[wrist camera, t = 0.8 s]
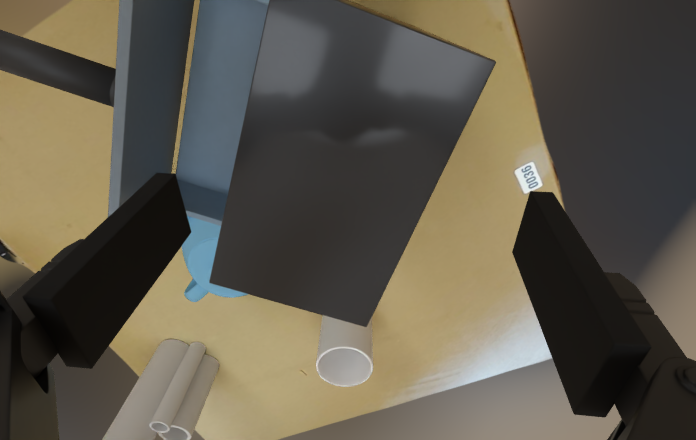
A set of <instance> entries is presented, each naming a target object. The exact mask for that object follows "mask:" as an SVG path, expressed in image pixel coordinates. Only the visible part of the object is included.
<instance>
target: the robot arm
mask: <svg viewBox="0 0 696 440" xmlns="http://www.w3.org/2000/svg"><path fill="white" fill-rule="evenodd" d="M190 234H191V229H190V225H189V221H188V218H187V214H186V210H185V207H184V203H183V199H182V196H181V192H180V188H179V185H178V181H177V177H176V174H169V173H156V174H155V175H154V176H153V177H151V178H150V179H149V180H148V181H147V182H146V183H145V184H144V185H143V186H142V187H141V188H140V189H138V190H137V191H136V192H135V193H134V194H133V195H132V196H131V197H130V198H129V199H128V200H127V201H125V202H124V203H123V204H122V205H121V206H120V207H119V208H118V209H117V210H116V211H115V212H114V213H112V214H111V215H110V216H109V217H108V218H107V219H106V220H105V221H104V222H103V223H102V224H100V225H99V226H98V227H97V228H96V229H95V230H94V231H93V232H92V233H91V234H90V235H89V236H87V237H86V238H85V239H80V240H78V241H76V242H75V243H73V244H71V245H69V246H67V247H66V248H64V249H63V250H61V251H60V252H59V253H58V254H57V255H56V256H55V257H54V258H53V259H51V262H48V263H47V264H46V265H45V266H44V267H42V268H41V271H38V272H37V273H36V274H35V275H34V276H32V277H31V278H30V279H29V280H28V281H27V282H26V283H25V284H23V285H22V286H21V287H20V288H19V289H18V290H17V291H16V292H14V293H13V294H12V295H11V296H10V297H9V298H8V299H7V300H6V298H5V297H4V295H3V294H2V293H1V291H0V440H59V430H58V418H57V406H56V393H55V381H54V371H53V369H52V367H51V365H50V364H49V363H50V362H51V360H52V359H53V358H54V357H55V356H56V355H57V353H58V354H59V355H60V357H61V358H62V360H63V361H64V363H65V365H66V366H70V367H80V368H90V369H91V368H93V366H94V365H95V363H96V362H97V361H98V359H99V358H100V357H101V355H102V354H103V353H104V351H105V350H106V348H107V347H108V346H109V344H110V343H111V342H112V340H113V339H114V338H115V336H116V335H117V333H118V332H119V331H120V329H121V328H122V327H123V325H124V324H125V322H126V321H127V320H128V318H129V317H130V316H131V314H132V313H133V312H134V310H135V309H136V307H137V306H138V305H139V303H140V302H141V301H142V299H143V298H144V297H145V295H146V294H147V292H148V291H149V290H150V288H151V287H152V286H153V284H154V283H155V281H156V280H157V279H158V277H159V276H160V275H161V273H162V272H163V271H164V269H165V268H166V266H167V265H168V264H169V262H170V261H171V260H172V258H173V257H174V256H175V254H176V253H177V251H178V250H179V249H180V247H181V246H182V245H183V243H184V242H185V240H186V239H187V238H188V236H189V235H190ZM512 253H513V255H514V258H515V261H516V263H517V266H518V268H519V271H520V274H521V276H522V279H523V282H524V284H525V287H526V289H527V292H528V295H529V297H530V300H531V303H532V305H533V308H534V311H535V313H536V316H537V318H538V321H539V324H540V326H541V329H542V332H543V334H544V337H545V339H546V342H547V345H548V347H549V350H550V353H551V355H552V358H553V360H554V363H555V366H556V368H557V371H558V374H559V376H560V379H561V382H562V384H563V387H564V389H565V392H566V394H567V397H568V400H569V403H570V405H571V408H572V411H573V413H574V414H575V415H586V416H596V417H606V416H607V414H608V413H609V411H610V410H611V408H612V407H613V405H614V404H615V405H616V408H617V410H618V412H619V414H620V416H621V418H622V420H621V421H620V423H619V424H618V426H617V427H616V428H615V430H614V431H613V432H612V434H611V435H610V437H609V438H608V439H607V440H696V361H694V360H692V359H689V358H687V357H686V356H685V355H684V353H683V351H682V350H681V349H680V347H679V346H678V344H677V343H676V342H675V340H674V339H673V337H672V336H671V335H670V333H669V332H668V330H667V329H666V327H665V326H664V325H663V323H662V322H661V321H660V319H659V318H658V316H657V315H655V314H654V311H653V309H652V308H651V306H650V305H649V304H648V303H646V299H645V298H644V297H643V295H642V294H641V292H640V291H639V289H638V288H637V287H636V286H635V285H634V284H632V283H631V282H630V281H629V280H628V279H626V278H625V277H624V276H622V275H621V274H620V273H605V272H603V270H602V268H601V267H600V266H599V264H598V262H597V261H596V259H595V258H594V256H593V254H592V253H591V251H590V250H589V248H588V247H587V245H586V243H585V242H584V240H583V239H582V237H581V236H580V234H579V233H578V231H577V230H576V228H575V226H574V225H573V223H572V222H571V220H570V219H569V217H568V215H567V214H566V212H565V211H564V209H563V208H562V206H561V204H560V203H559V201H558V200H557V198H556V197H555V195H554V194H553V192H533V191H530V194H529V198H528V201H527V204H526V208H525V211H524V214H523V218H522V221H521V225H520V228H519V231H518V235H517V238H516V242H515V245H514V248H513V252H512Z"/></svg>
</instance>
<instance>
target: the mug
mask: <svg viewBox="0 0 696 440" xmlns="http://www.w3.org/2000/svg"><path fill="white" fill-rule="evenodd" d="M372 316H373V315H372ZM316 370H317V372H318V374H319V376H320V377H321V378H322V379H323V380H325V381H326V382H328V383H330V384H332V385H336V386H341V387H351V386H356V385H359V384H361V383H363V382H365V381H366V380H367V379H368V378H369V377H370V376H371V374H372V371H373V343H372V317H371V319H370V321H369V323H368V326H367V327H363V326H360V325H356V324H353V323H349V322H345V321H342V320H338V319H335V318H331V317H328V316H324V315H322V323H321V330H320V338H319V345H318V353H317V360H316Z"/></svg>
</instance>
